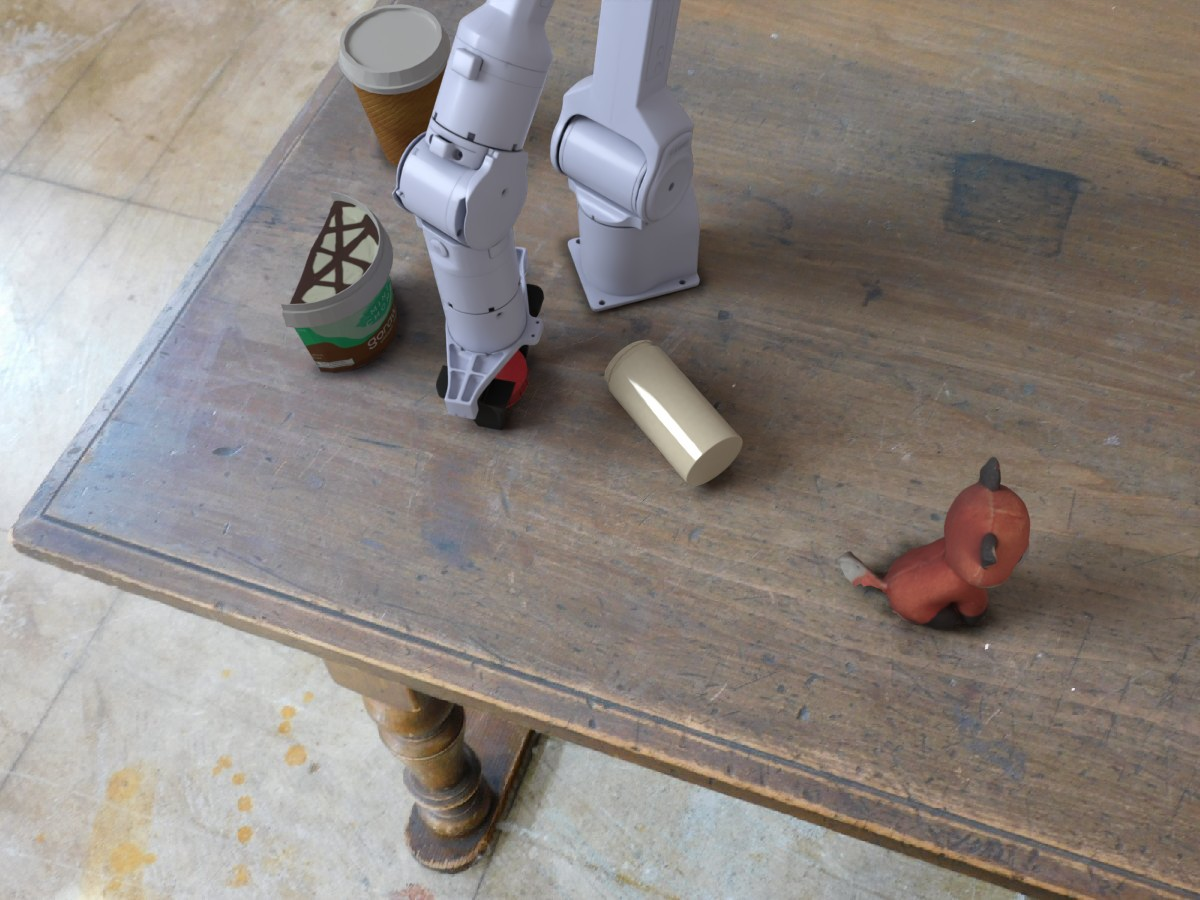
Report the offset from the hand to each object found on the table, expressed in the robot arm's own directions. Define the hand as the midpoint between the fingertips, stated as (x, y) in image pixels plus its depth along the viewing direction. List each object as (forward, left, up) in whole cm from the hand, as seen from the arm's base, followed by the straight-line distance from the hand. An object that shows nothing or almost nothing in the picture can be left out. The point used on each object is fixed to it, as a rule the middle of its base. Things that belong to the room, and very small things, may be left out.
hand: (502, 390), depth 86 cm
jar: (-13, +13, +3) cm, 19 cm away
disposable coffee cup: (+1, -29, 0) cm, 29 cm away
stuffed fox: (-24, +25, 0) cm, 35 cm away
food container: (+9, -9, 0) cm, 13 cm away
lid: (+1, 0, +2) cm, 2 cm away
